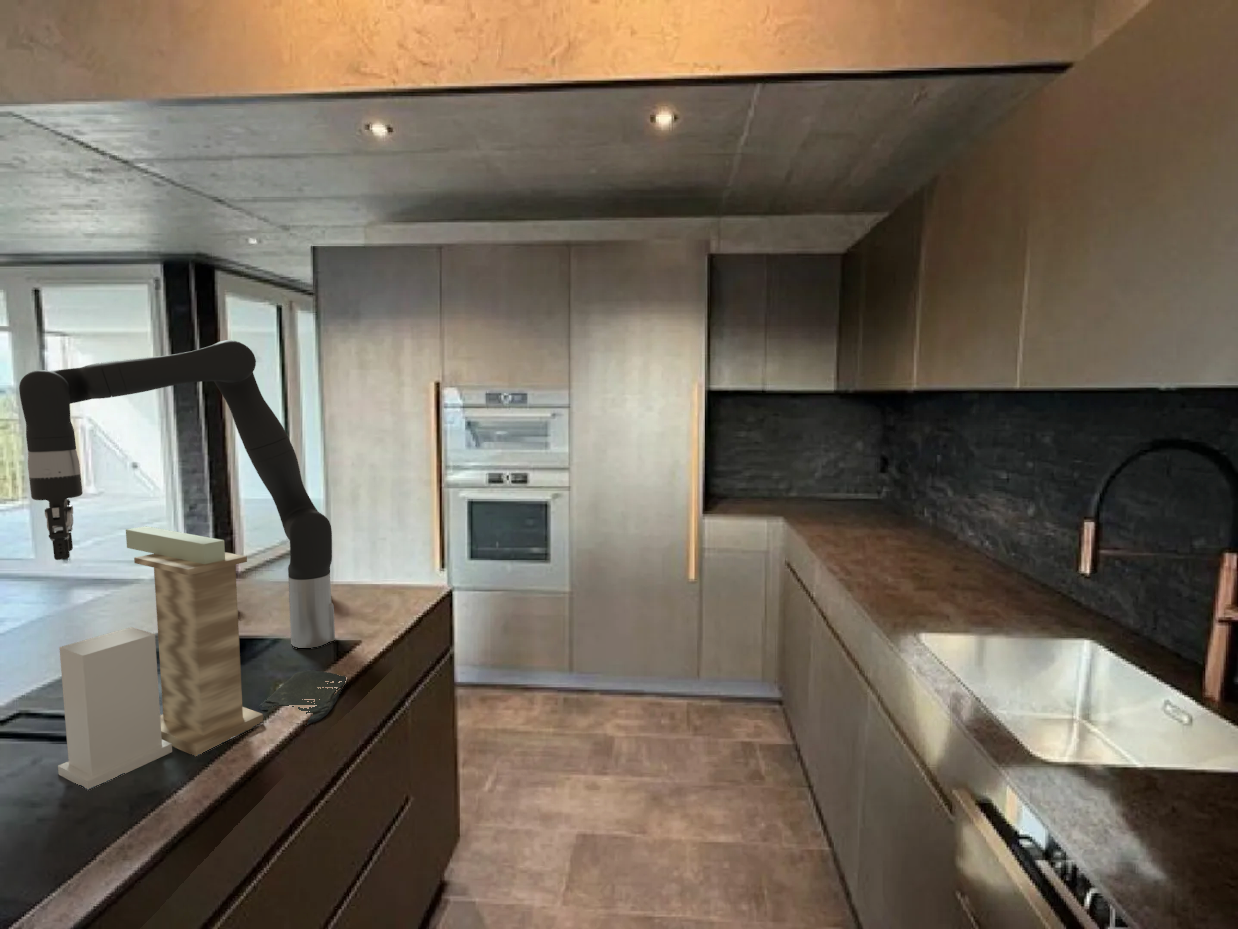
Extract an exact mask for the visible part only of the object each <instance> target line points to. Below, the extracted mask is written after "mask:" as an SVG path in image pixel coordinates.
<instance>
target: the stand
mask: <svg viewBox="0 0 1238 929" xmlns="http://www.w3.org/2000/svg"><path fill="white" fill-rule="evenodd" d="M133 559H134V564H135V565H141V566H145V567H151V568H153V574H154V576H153V577H154V590H155V592H154V593H155V605H156V606H155V607H156V608H155V610H156V622H157V638H158V655H159V670H160V671H159V672H160V682H161V683H160V684H161V687H160V688H161V700H162V701H161V702H162V703H161V704H162V714H160V721H161V737H162V740H165V741H167V742H169V743H172V748H175V749H178V750H179V751H181V752H185V753H187V754H189V755H191V754H192V755H191V756H193V755H195V756H194V757H196V756H197V755H198V754H201V755H203V754H204V753H203V752H205V751H207V750H209V749H211V748H213V747H215V746H217V745H219V744H221V743H222V742H225V741H227V740H228V739H230V738H231V737H233V736H236V735H238V734H240V733H242V732H244V731H245V730H249V729H251V728H252V727H253V726H255V725H257V724H259V723H260V722H262V721H263V722H264V713H261V712H258V711H257V710H252V709H249V708H247V707H246V706H243V693H242V670H241V656H240V655H241V653H240V633H239V632H240V631H239V630H240V629H239V612H238V608H239V607H238V592H237V572H236V571H237V568H236V565H240V564H243V563H248V557H247V555H243V554H235V553H232V552H226V551H225V560H222V561H217V562H213V563H208V564H201V563H196V562H192V561H187V560H182V559H177V558H173V557H168V556H163V555H158V554H154V553H150V554H145V555H141V556H135V557H133ZM221 745H222V744H221ZM219 746H220V745H219ZM217 747H218V746H217ZM215 748H216V747H215ZM213 749H214V748H213ZM211 750H212V749H211ZM209 751H210V750H209ZM207 752H208V751H207ZM202 753H203V754H202ZM205 753H206V752H205ZM197 757H198V756H197Z"/></svg>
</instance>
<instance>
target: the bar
mask: <svg viewBox="0 0 1238 929" xmlns="http://www.w3.org/2000/svg"><path fill="white" fill-rule="evenodd" d="M125 537H126V539H125V540H126V541H125V542H126V548H127V549H131V550H135V551H141V552H146V553H150V554H158V555H163V556H168V557H173V558H177V559H182V560H187V561H192V562H196V563H201V564H208V563H213V562H217V561H222V560H225V552H226V549H225V547H226V546H225V540H224V539H221V538H213V537H210V536H209V537H207V536H202V535H197V534H191V533H186V532H182V531H175V530H170V529H163V528H159V527H153V526H148V525H147V526H140V527H139V526H138V527H133V528H127V529H126V528H125Z"/></svg>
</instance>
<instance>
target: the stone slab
mask: <svg viewBox="0 0 1238 929" xmlns="http://www.w3.org/2000/svg"><path fill="white" fill-rule="evenodd" d="M337 674H338V673H333V672H329V671H328V672H327V671H321V670H313V669H310V670H303V671H298V672H295V673H294V674H292V676H291V677H290V678H289V679H288V680H286V681H285V682H283V684H282V685H281V686H280V687H278V688H277V689H276V690H275V691H273V692H274V693H273V694H272V693H271V694H272V695H271V694H270V695H271V696H270V695H269V696H270V697H269V696H268V697H267V698H266V699H267V700H266V699H264V700H263V701H264V702H263V701H262V702H263V703H262V702H260V704H259V706H260V705H262V707H268V708H269V707H272V706H273V707H274V706H289V705H317V706H315V707H312V708H311V707H309V709H307V708H304V709H303V708H300V707H298V709H299V710H301V711H308V712H306V714H307V713H313V716H311V717H310V719H309V720H308V723H307V725H309V724H312V723H316V722H318V721H320V720H322V719H323V718H325V717H326V716H327V715H328V714H329V713H330V711H331V710H332V709H333V708H334V705H335V704H336V702H337V701H338V699H339V698H340V695H341V693H342V691H343V690H342V687H343V685H344V684H345V681H346V677H347V676H346V675H343V676H341V674H339V675H340V676H339V675H337ZM345 676H346V677H345ZM325 681H329V682H325ZM332 681H334V683H330V682H332ZM339 681H342V682H340V683H338V682H339ZM327 683H328V684H327ZM317 687H321V689H320V688H319V689H318V688H317ZM322 687H324V688H322ZM325 687H333V689H332V688H328V689H327V688H325ZM334 687H338V688H337V689H336V688H334ZM339 688H341V689H340V690H339V691H338V692H337V694H335V695H334V693H335V692H336V690H338V689H339ZM341 690H342V691H341ZM340 692H341V693H340ZM339 694H340V695H339ZM302 699H303V700H302ZM304 699H315V702H313V701H314V700H304ZM319 699H320V700H319ZM307 701H309V702H307ZM311 702H312V703H311ZM314 703H315V704H314ZM292 707H294V706H292ZM309 711H310V712H309ZM307 725H306V726H307Z"/></svg>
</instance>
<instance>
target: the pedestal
mask: <svg viewBox="0 0 1238 929" xmlns="http://www.w3.org/2000/svg"><path fill="white" fill-rule="evenodd" d="M156 643H157V642H156V634H155V633H154V632H153V633H152V632H149V631H146V630H143V629H139V628H136V627H133V626H130V627H126V628H123V629H119V630H116V631H112V632H109V633H105V634H101V635H98V636H94V637H91V638H87V639H84V640H79V641H76V642H73V643H69V644H66V645H62V646H59V647H58V648H59V657H60V672H61V686H62V693H63V694H62V696H63V709H64V710H63V711H64V719H65V720H64V721H65V735H66V745H67V747H66V748H67V758H68V759H67V760H68V761H66V762H62V763H61V764H58V765H57V769H58V770H57V771H58V772H57V773H58V776H60V777H62V778H63V779H66V780H68V781H69V782H71V783H73V784H75V783H76V784H75V785H77V784H78V785H77V786H79V785H82V786H84V787H85V788H87V789H89V788H91V787H93V786H96V785H99V784H101V783H103V782H106V781H107V780H110V779H112V780H114V779H113V778H115V777H117V776H118V775H120V774H122V773H125V774H127V773H129V772H131V771H132V772H133V771H134V770H136V769H138V768H140V767H143V766H145V765H147V764H149V763H151V762H154V761H156V760H157V759H160V758H162V757H164V756H166V755H169V754H170V753H173V746H172V743H169V742H167V741H165V740H162V737H161V721H160V715H161V711H160V709H161V708H160V692H159V691H160V690H159V677H158V675H159V674H158V663H157V662H158V661H157V646H156ZM117 778H118V777H117ZM115 779H116V778H115ZM110 781H111V780H110ZM106 783H107V782H106ZM99 786H100V785H99Z"/></svg>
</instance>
